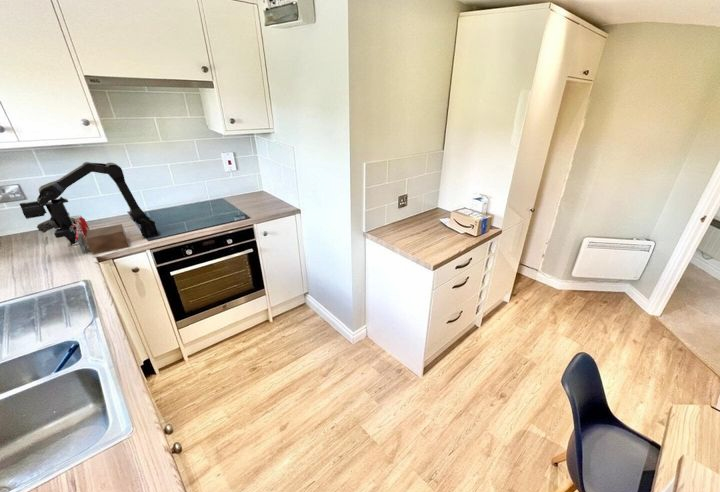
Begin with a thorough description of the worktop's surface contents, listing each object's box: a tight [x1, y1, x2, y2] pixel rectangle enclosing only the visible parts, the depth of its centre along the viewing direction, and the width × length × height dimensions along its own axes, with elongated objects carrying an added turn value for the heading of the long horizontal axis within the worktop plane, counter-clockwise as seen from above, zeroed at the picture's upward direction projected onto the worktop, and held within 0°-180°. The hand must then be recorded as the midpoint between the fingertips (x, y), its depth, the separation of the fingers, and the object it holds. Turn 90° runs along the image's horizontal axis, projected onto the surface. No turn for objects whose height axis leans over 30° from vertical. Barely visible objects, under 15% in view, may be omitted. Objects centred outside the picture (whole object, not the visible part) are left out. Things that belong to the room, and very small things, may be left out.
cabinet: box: [86, 223, 130, 255], centre depth 161 cm, size 14×12×9 cm
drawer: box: [67, 233, 93, 255], centre depth 157 cm, size 17×10×7 cm, turn 130°
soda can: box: [70, 215, 91, 241], centre depth 167 cm, size 7×7×12 cm
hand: (73, 243), depth 153 cm, fingers closed, pressing on drawer
